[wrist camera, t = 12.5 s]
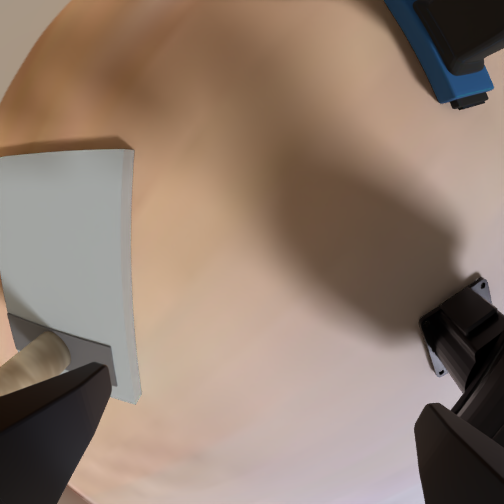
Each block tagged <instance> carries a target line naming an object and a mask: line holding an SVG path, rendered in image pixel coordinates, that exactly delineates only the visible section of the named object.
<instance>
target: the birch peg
mask: <svg viewBox="0 0 504 504" xmlns="http://www.w3.org/2000/svg"><path fill="white" fill-rule="evenodd" d="M70 362H71V355H70V352H69V349H68V347H67V346H66V344H65V343H64V341H63V340H62V339H61V338H60V337H59V336H58V335H56V334H55V333H53V332H50V331H46V332H44V333H42V334H41V335H40V336H38V337H37V338H36V339H35V340H33V341H32V342H31V343H30V344H28V345H27V346H26V347H24V348H23V349H22V350H21V351H19V352H18V353H17V354H16V355H15V356H13V357H12V358H11V359H10V360H8V361H7V362H6V363H5V364H4V365H2V366H1V367H0V396H3V395H6V394H9V393H11V392H14V391H17V390H20V389H23V388H25V387H28V386H31V385H34V384H36V383H39V382H42V381H44V380H47V379H50V378H52V377H55V376H58V375H60V374H61V373H62V372H63V371H64V370H65V369H66V367H67V366H68V365H69V364H70Z"/></svg>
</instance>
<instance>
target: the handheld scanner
mask: <svg viewBox="0 0 504 504" xmlns="http://www.w3.org/2000/svg"><path fill="white" fill-rule="evenodd" d="M384 1H385V3H386V5H387V7H388V8H389V10H390V11H391V13H392V14H393V16H394V17H395V19H396V21H397V22H398V24H399V26H400V27H401V29H402V31H403V32H404V34H405V36H406V37H407V39H408V41H409V43H410V44H411V46H412V48H413V50H414V52H415V54H416V55H417V57H418V59H419V61H420V63H421V65H422V67H423V69H424V71H425V73H426V75H427V77H428V79H429V82H430V84H431V86H432V88H433V90H434V93H435V95H436V97H437V99H438V101H439V103H441V104H442V103H447V102H450V103H451V106H452V108H453V109H457V108H458V109H459V110H462V109H466V108H469V107H473V106H476V105H480V104H483V103H485V101H486V100H488V96H487V93H486V92H487V91H490V90H492V89H494V86H493V83H492V81H491V79H490V76H489V74H488V72H487V70H486V67H485V65H484V58H485V57H487V56H489V55H491V54H493V53H495V52H497V51H499V50H501V49H503V48H504V0H384Z"/></svg>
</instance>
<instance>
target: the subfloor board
mask: <svg viewBox="0 0 504 504" xmlns="http://www.w3.org/2000/svg"><path fill="white" fill-rule="evenodd" d="M133 163H134V150H129V149H100V150H75V151H58V152H45V153H33V154H23V155H13V156H5V157H0V274H1V280H2V286H3V292H4V297H5V302H6V307H7V312H8V313H10V314H13V315H15V316H18V317H21V318H23V319H26V320H29V321H31V322H34V323H37V324H40V325H43V326H45V327H48V328H51V329H54V330H57V331H60V332H63V333H67V334H70V335H73V336H76V337H79V338H83V339H86V340H90V341H93V342H97V343H100V344H104V345H107V346H111V349H112V356H113V362H114V368H115V374H116V380H117V385H118V386H117V387H115V386H112V392H111V396H110V397H112V398H115V399H118V400H121V401H125V402H128V403H132V404H135V405H136V403H137V402H138V400H139V398H140V396H141V395H142V392H141V385H140V377H139V369H138V361H137V351H136V341H135V330H134V317H133V301H132V280H131V200H132V178H133ZM19 351H20V350H18V352H19ZM65 372H68V370H64V371H63V372H62V373H61V374H63V373H65Z"/></svg>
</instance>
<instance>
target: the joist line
mask: <svg viewBox="0 0 504 504" xmlns="http://www.w3.org/2000/svg"><path fill="white" fill-rule="evenodd" d="M7 315H8V319H9V323H10V327H11V331H12V335H13V339H14V342H15V346H16V349H17V350H20V351H21V350H22V349H23V348H24V347H26V346H27V345H28V344H30V343H31V342H32V341H33V340H35V339H36V338H37V337H38V336H40V335H41V334H42V333H44V332H46V331H50V332H53V333H55V334H56V335H58V336H59V337H60V338H61V339H62V340H63V341H64V343H65V344H66V346H67V347H68V349H69V352H70V355H71V362H70V364H69V365H68V366H67V367H66V369H65V370H68V371H71V370H73V369H76V368H78V367H81V366H83V365H86V364H89V363H91V362H99V363H102V364H105V365H107V366H108V368H109V373H110V379H111V384H112V386H115V387H117V386H118V385H117V380H116V374H115V368H114V362H113V356H112V349H111V346H107V345H104V344H100V343H97V342H93V341H90V340H86V339H83V338H79V337H76V336H73V335H70V334H67V333H63V332H60V331H57V330H54V329H51V328H48V327H45V326H43V325H40V324H37V323H34V322H31V321H29V320H26V319H23V318H21V317H18V316H15V315H13V314H10V313H7Z"/></svg>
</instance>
